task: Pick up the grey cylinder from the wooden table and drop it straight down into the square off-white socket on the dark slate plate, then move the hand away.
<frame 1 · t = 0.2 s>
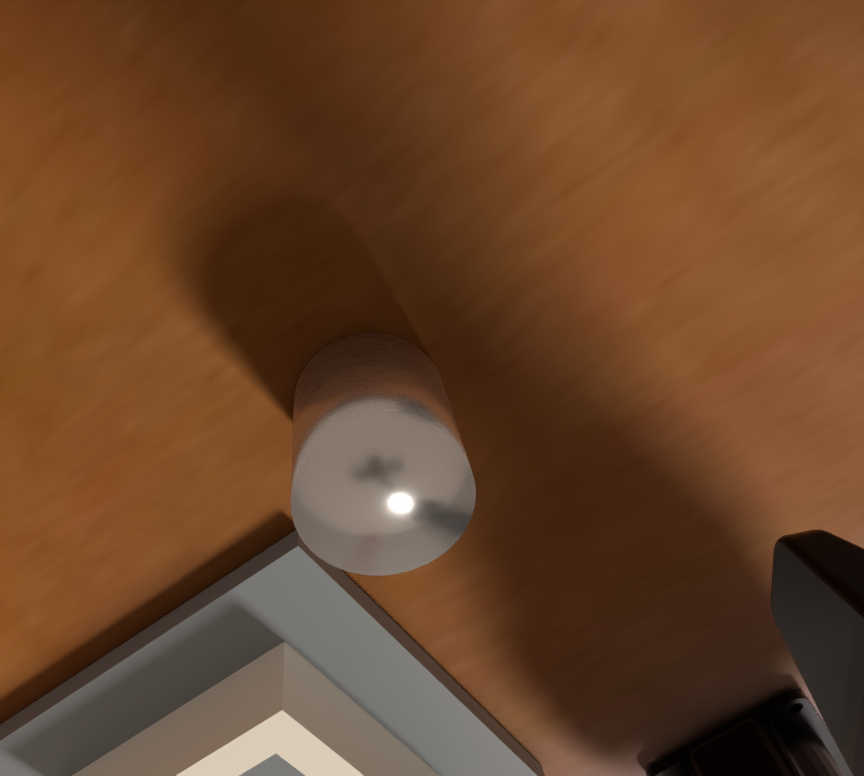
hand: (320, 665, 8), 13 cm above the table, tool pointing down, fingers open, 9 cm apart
grey cylinder: (370, 401, 21), on the table
pin socket: (265, 763, 27), on the table
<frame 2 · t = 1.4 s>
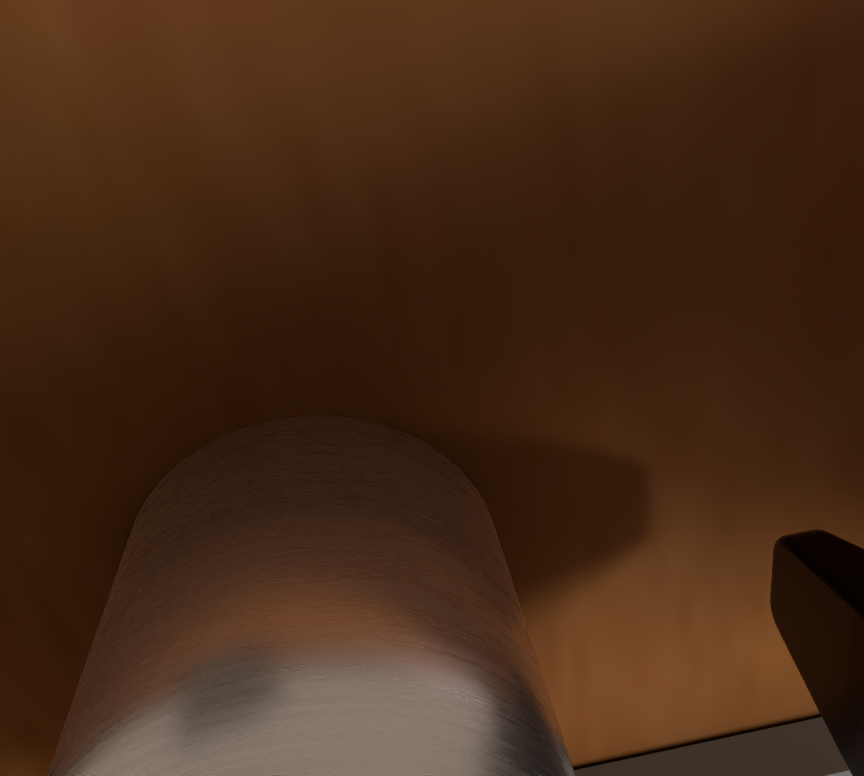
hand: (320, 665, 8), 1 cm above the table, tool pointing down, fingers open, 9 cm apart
grey cylinder: (317, 576, 9), on the table
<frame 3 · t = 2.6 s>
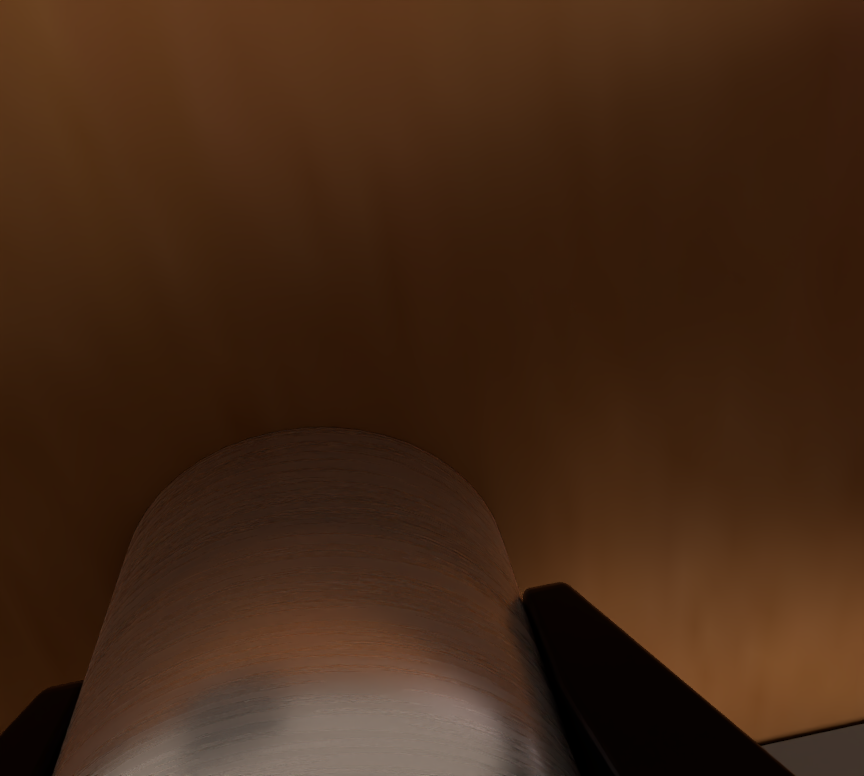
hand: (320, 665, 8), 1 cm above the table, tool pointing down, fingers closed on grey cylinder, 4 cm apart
grey cylinder: (320, 591, 8), on the table, touching gripper
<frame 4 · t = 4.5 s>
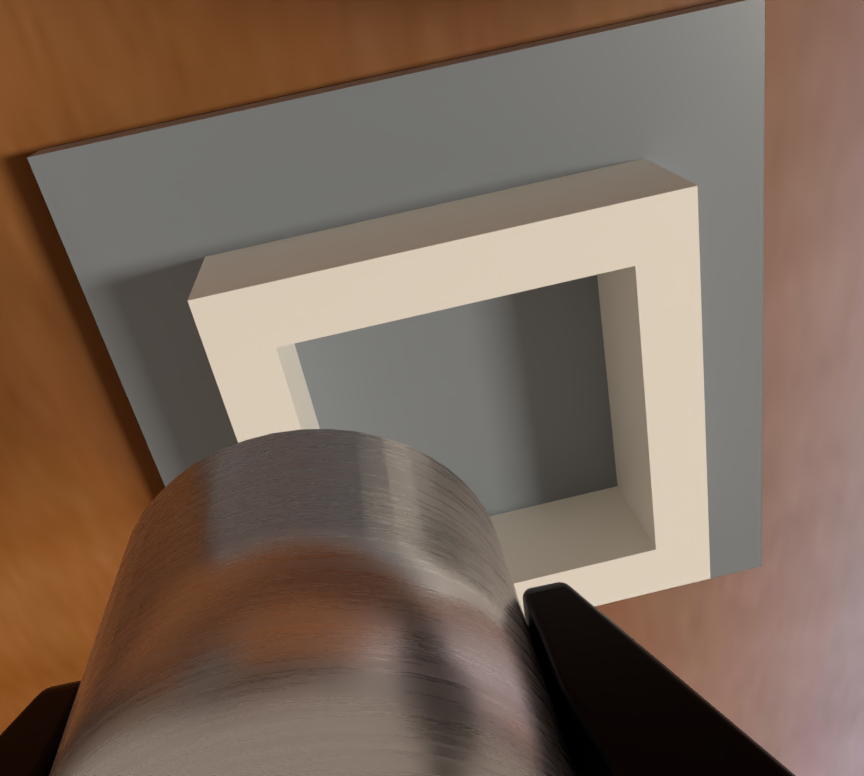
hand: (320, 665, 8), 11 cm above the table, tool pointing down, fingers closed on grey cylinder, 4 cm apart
grey cylinder: (318, 592, 8), point 10 cm above the table, touching gripper
pin socket: (458, 385, 19), on the table
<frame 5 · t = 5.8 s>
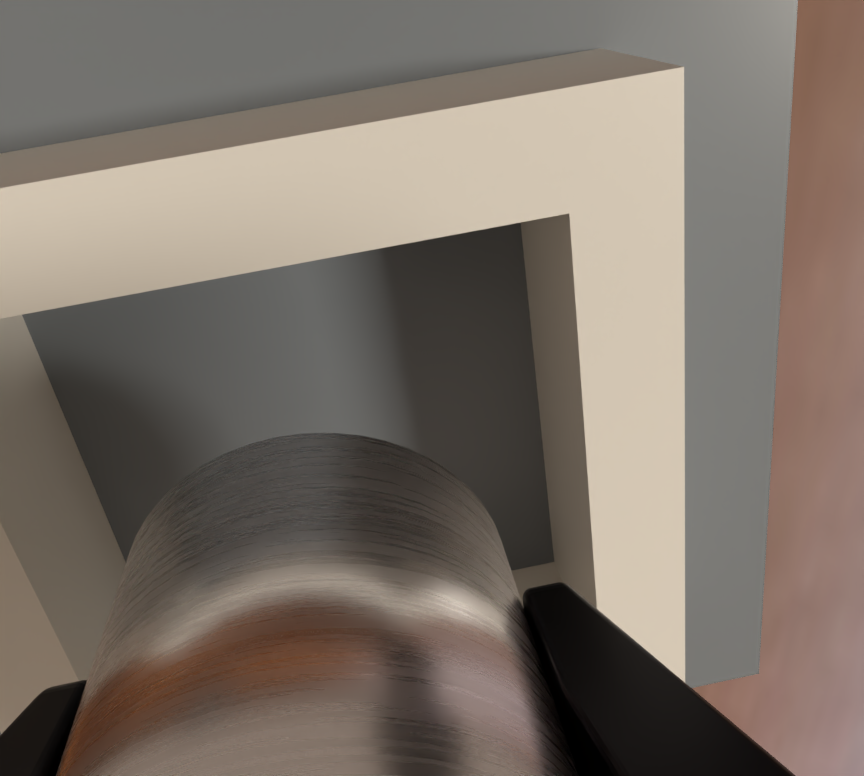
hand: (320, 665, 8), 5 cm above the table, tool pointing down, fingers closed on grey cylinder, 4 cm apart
grey cylinder: (321, 596, 9), point 4 cm above the table, touching gripper
pin socket: (316, 406, 12), on the table
when the fingers open (4 cm above the table, at t = 6.8 s): grey cylinder drops 2 cm, resting on pin socket.
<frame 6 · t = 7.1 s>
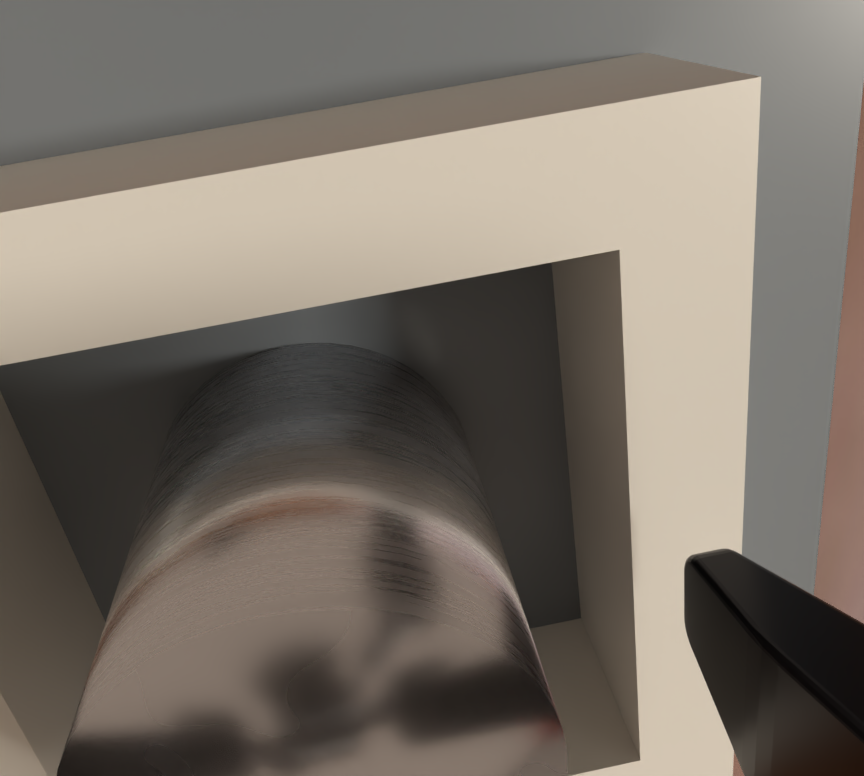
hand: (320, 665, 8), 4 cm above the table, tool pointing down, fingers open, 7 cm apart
grey cylinder: (319, 483, 10), point 1 cm above the table, touching pin socket
pin socket: (318, 449, 11), on the table
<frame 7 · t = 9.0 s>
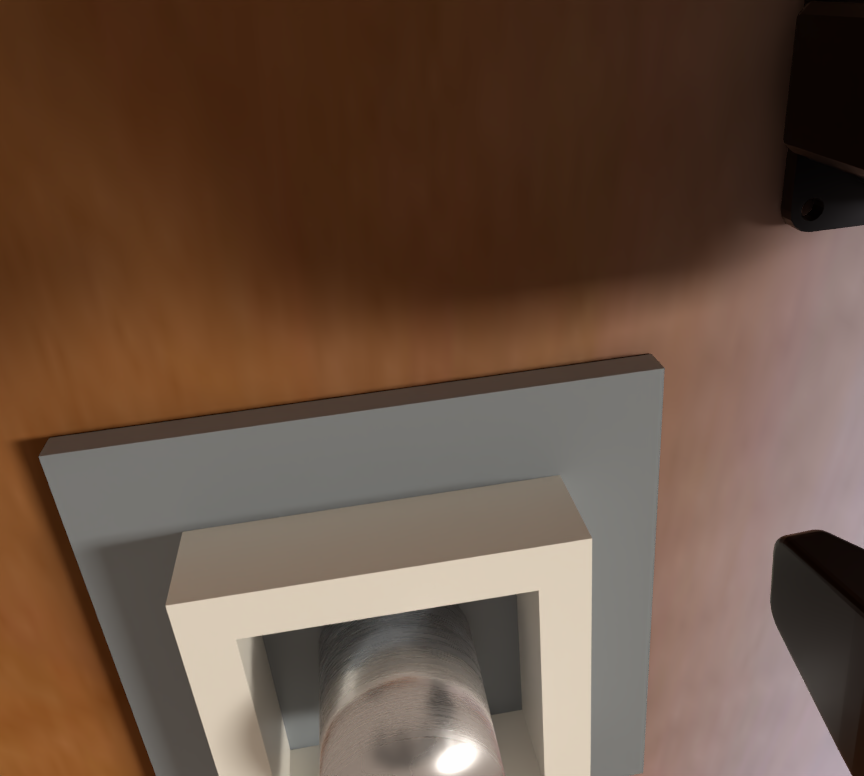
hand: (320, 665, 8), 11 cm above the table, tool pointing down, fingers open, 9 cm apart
grey cylinder: (395, 644, 21), point 1 cm above the table, touching pin socket
pin socket: (392, 621, 22), on the table
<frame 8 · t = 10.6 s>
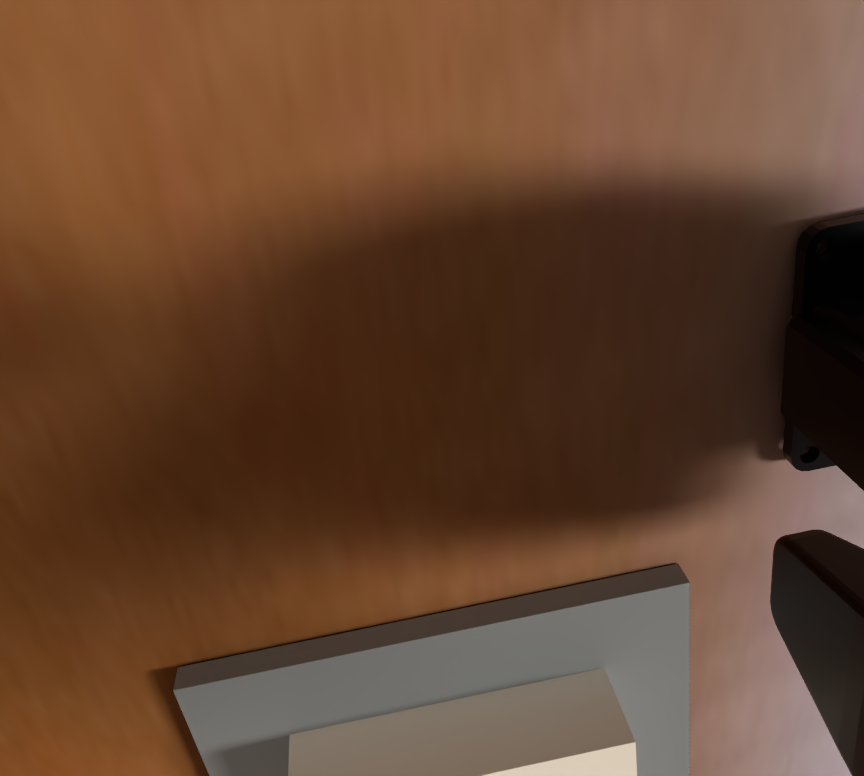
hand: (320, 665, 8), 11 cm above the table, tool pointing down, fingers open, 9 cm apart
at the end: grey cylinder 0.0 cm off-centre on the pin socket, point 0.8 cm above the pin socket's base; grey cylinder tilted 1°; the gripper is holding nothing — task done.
